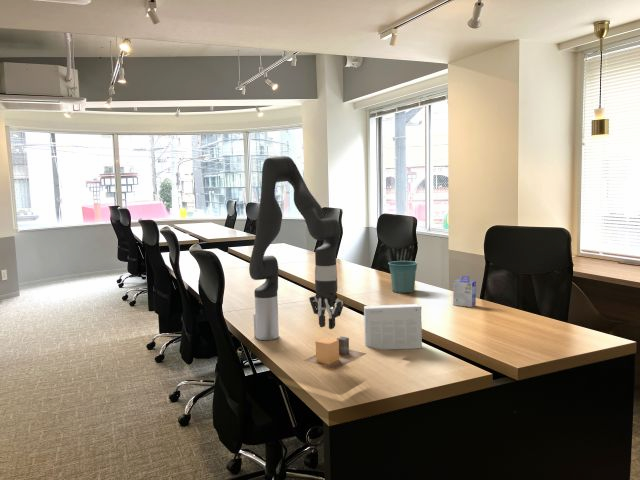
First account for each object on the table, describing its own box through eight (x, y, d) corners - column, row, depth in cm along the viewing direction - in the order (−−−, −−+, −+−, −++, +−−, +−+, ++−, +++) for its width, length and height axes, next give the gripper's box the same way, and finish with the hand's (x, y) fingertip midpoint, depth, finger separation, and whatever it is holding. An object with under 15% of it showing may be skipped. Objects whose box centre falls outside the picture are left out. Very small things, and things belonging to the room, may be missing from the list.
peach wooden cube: (316, 361, 173) (315, 341, 173) (326, 356, 178) (325, 337, 177) (329, 364, 170) (328, 344, 169) (339, 359, 174) (338, 339, 174)
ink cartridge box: (476, 305, 250) (476, 276, 248) (472, 307, 246) (472, 278, 244) (457, 302, 256) (457, 274, 254) (452, 305, 252) (453, 276, 250)
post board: (303, 364, 175) (303, 344, 174) (335, 350, 189) (334, 331, 188) (336, 373, 166) (336, 352, 165) (366, 357, 180) (366, 338, 179)
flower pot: (382, 289, 289) (382, 262, 288) (406, 286, 296) (406, 259, 294) (399, 295, 275) (398, 266, 273) (423, 292, 281) (423, 263, 280)
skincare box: (419, 344, 194) (419, 303, 192) (422, 348, 188) (422, 307, 186) (364, 345, 193) (363, 305, 191) (365, 350, 188) (365, 308, 186)
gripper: (302, 277, 172) (304, 327, 174) (336, 281, 163) (337, 334, 165) (316, 274, 178) (317, 321, 180) (349, 278, 169) (350, 328, 171)
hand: (327, 327), depth 172 cm, fingers open, 3 cm apart
